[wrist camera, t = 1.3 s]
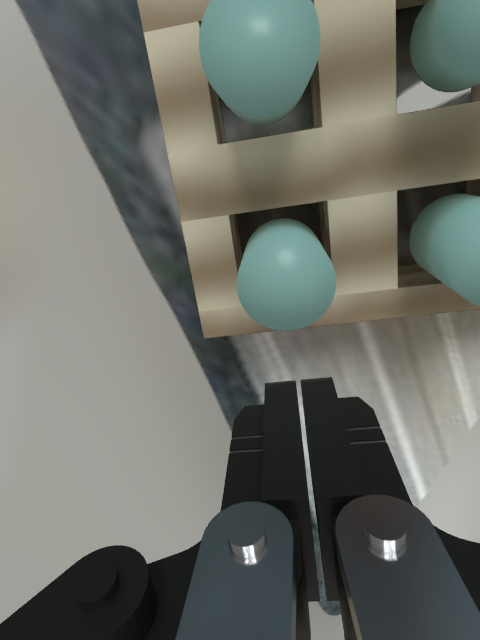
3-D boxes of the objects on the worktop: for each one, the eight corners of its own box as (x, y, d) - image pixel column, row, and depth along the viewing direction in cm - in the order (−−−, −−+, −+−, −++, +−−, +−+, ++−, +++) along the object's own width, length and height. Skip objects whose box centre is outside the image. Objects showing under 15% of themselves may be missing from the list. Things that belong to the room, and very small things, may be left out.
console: (159, 18, 25) (131, -17, 20) (573, -69, 22) (660, -135, 17) (213, 312, 32) (203, 340, 27) (532, 276, 29) (586, 300, 24)
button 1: (239, 224, 24) (229, 242, 19) (318, 212, 24) (332, 228, 18) (249, 298, 26) (244, 335, 21) (324, 289, 25) (339, 325, 20)
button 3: (409, 200, 23) (452, 212, 18) (497, 187, 23) (571, 196, 17) (408, 279, 25) (448, 313, 19) (491, 269, 24) (556, 302, 19)
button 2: (210, 30, 21) (188, -17, 15) (303, 11, 20) (315, -45, 15) (225, 131, 23) (210, 121, 17) (311, 116, 22) (324, 101, 16)
